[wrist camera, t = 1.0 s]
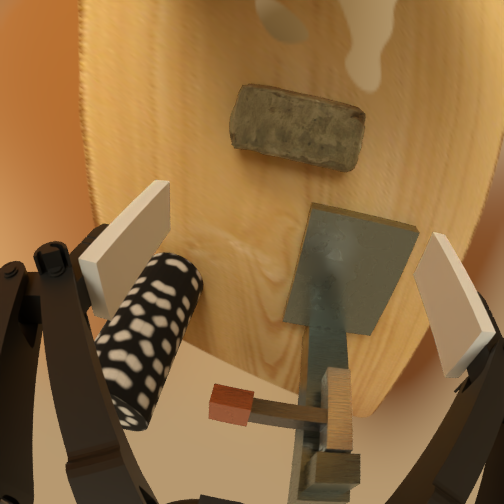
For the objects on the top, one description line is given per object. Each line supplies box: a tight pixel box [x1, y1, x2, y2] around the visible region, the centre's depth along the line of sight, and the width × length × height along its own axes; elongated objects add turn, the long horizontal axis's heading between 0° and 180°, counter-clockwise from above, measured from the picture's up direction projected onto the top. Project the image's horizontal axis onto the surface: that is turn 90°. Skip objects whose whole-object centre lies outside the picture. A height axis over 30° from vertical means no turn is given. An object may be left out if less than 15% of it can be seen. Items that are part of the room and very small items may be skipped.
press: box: [283, 203, 419, 504], centre depth 28 cm, size 20×12×24 cm, turn 173°
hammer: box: [209, 367, 353, 454], centre depth 27 cm, size 4×13×9 cm, turn 83°
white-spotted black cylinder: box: [94, 253, 203, 431], centre depth 33 cm, size 8×8×20 cm
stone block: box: [229, 84, 365, 172], centre depth 26 cm, size 6×12×5 cm, turn 82°
